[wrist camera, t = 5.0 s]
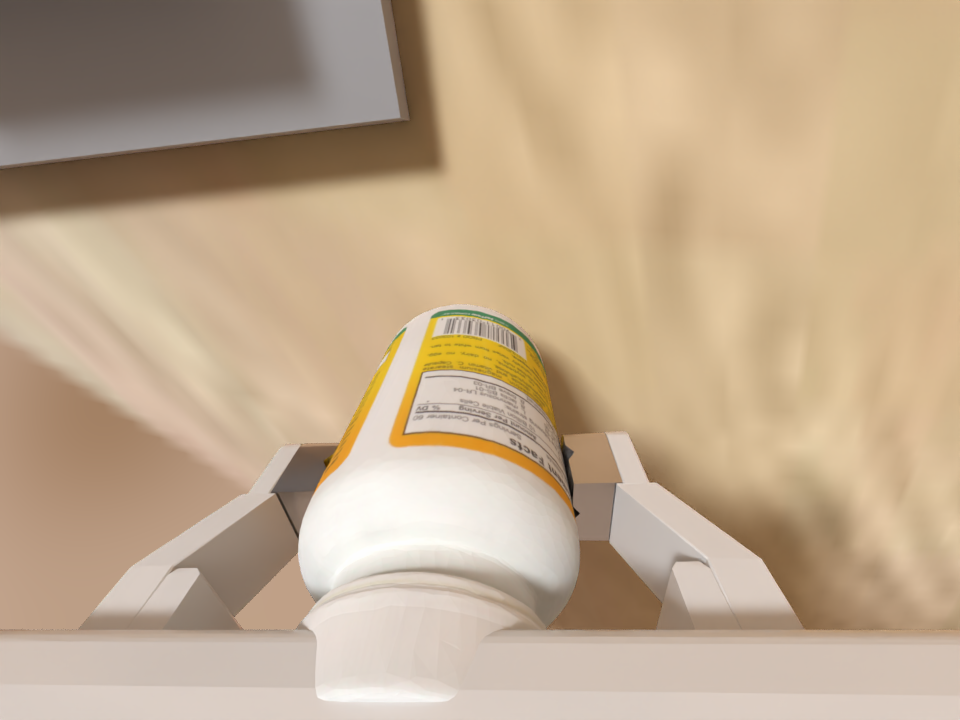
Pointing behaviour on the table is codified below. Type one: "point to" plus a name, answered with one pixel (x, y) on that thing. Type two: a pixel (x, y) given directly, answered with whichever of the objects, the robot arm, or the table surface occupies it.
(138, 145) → the bottle stand
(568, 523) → the supplement bottle
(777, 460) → the table surface
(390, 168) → the table surface
